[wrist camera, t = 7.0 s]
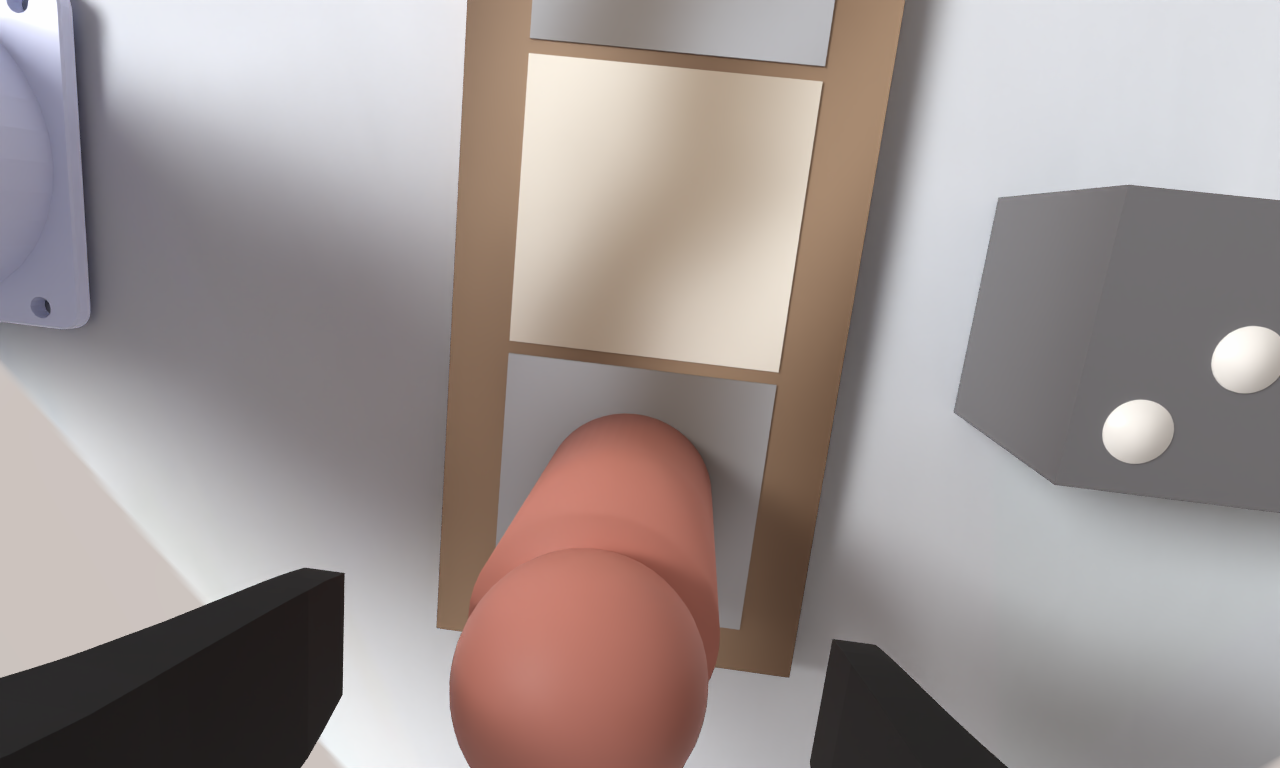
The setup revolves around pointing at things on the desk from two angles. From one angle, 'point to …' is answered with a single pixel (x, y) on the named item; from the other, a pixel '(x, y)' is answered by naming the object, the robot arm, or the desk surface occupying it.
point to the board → (662, 264)
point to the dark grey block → (1133, 342)
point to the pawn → (595, 610)
